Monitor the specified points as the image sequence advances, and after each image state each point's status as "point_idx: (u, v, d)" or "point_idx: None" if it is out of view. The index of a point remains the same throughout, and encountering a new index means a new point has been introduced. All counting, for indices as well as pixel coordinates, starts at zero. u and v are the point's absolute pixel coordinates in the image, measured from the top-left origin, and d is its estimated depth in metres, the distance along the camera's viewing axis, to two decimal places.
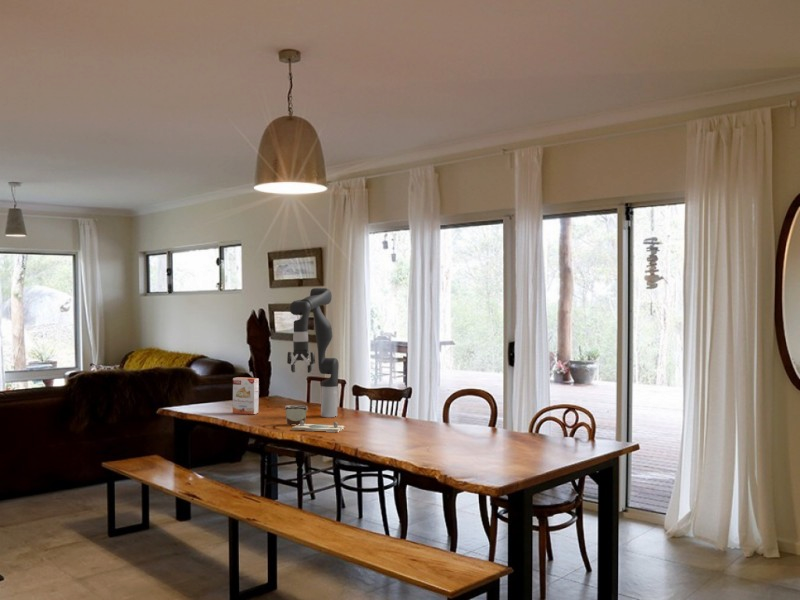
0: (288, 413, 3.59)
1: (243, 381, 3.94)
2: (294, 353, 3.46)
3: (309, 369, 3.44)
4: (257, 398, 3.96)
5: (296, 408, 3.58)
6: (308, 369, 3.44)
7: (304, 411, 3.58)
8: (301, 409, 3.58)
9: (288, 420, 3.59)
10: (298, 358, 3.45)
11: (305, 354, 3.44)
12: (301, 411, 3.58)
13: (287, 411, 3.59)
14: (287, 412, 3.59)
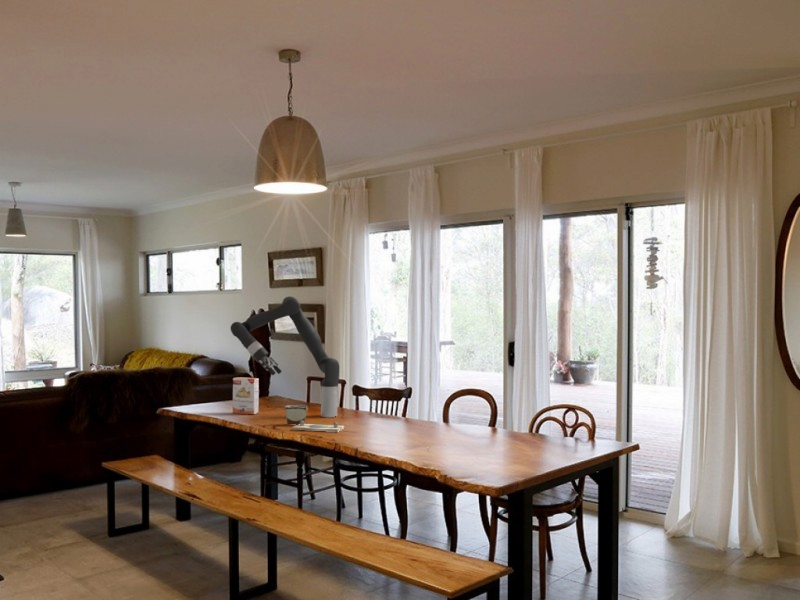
0: (288, 413, 3.59)
1: (243, 381, 3.94)
2: None
3: (271, 372, 3.59)
4: (257, 398, 3.96)
5: (296, 408, 3.58)
6: None
7: (304, 411, 3.58)
8: (301, 409, 3.58)
9: (288, 420, 3.59)
10: None
11: None
12: (301, 411, 3.58)
13: (287, 411, 3.59)
14: (287, 412, 3.59)
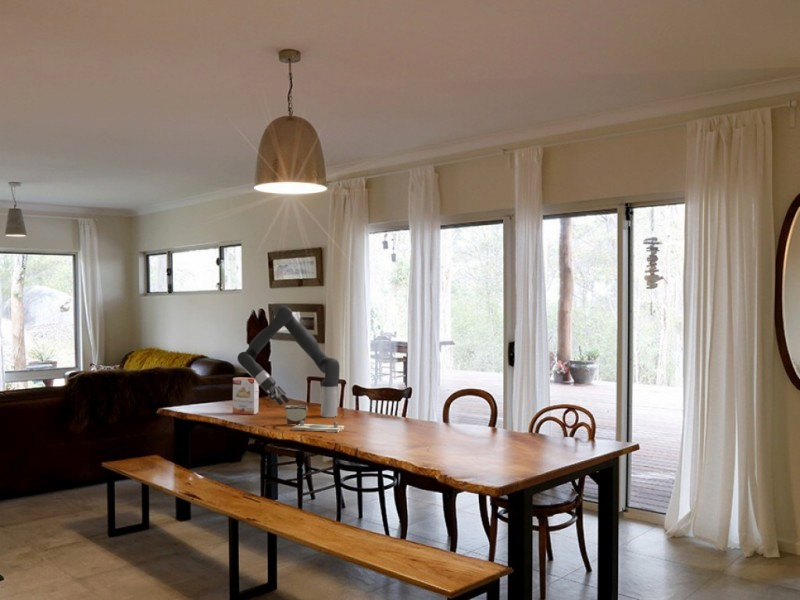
0: (288, 413, 3.59)
1: (243, 381, 3.94)
2: None
3: (278, 402, 3.58)
4: (257, 398, 3.96)
5: (296, 408, 3.58)
6: (278, 403, 3.59)
7: (304, 411, 3.58)
8: (301, 409, 3.58)
9: (288, 420, 3.59)
10: None
11: None
12: (301, 411, 3.58)
13: (287, 411, 3.59)
14: (287, 412, 3.59)
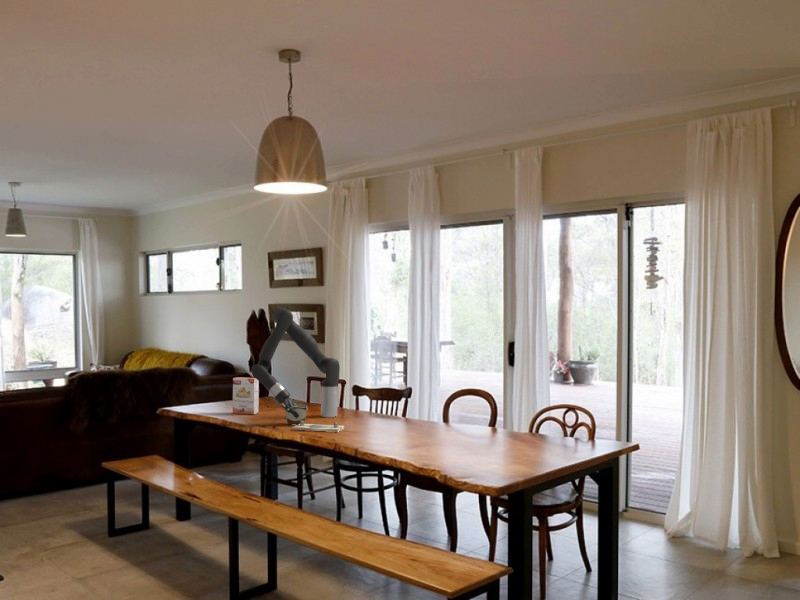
0: (288, 413, 3.59)
1: (243, 381, 3.94)
2: None
3: (294, 416, 3.57)
4: (257, 398, 3.96)
5: (296, 408, 3.58)
6: (294, 416, 3.58)
7: (304, 411, 3.58)
8: (301, 409, 3.58)
9: (288, 420, 3.59)
10: None
11: None
12: (301, 411, 3.58)
13: None
14: (287, 412, 3.59)
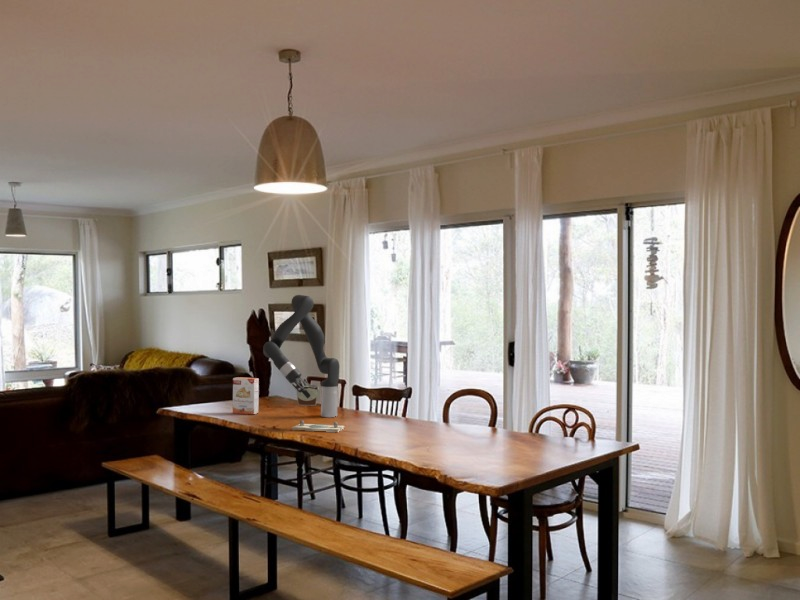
0: (299, 392, 3.50)
1: (243, 381, 3.94)
2: None
3: (305, 395, 3.49)
4: (257, 398, 3.96)
5: (307, 388, 3.50)
6: None
7: (315, 391, 3.49)
8: (312, 389, 3.49)
9: (299, 400, 3.50)
10: None
11: None
12: (312, 391, 3.49)
13: (298, 391, 3.50)
14: (298, 392, 3.50)
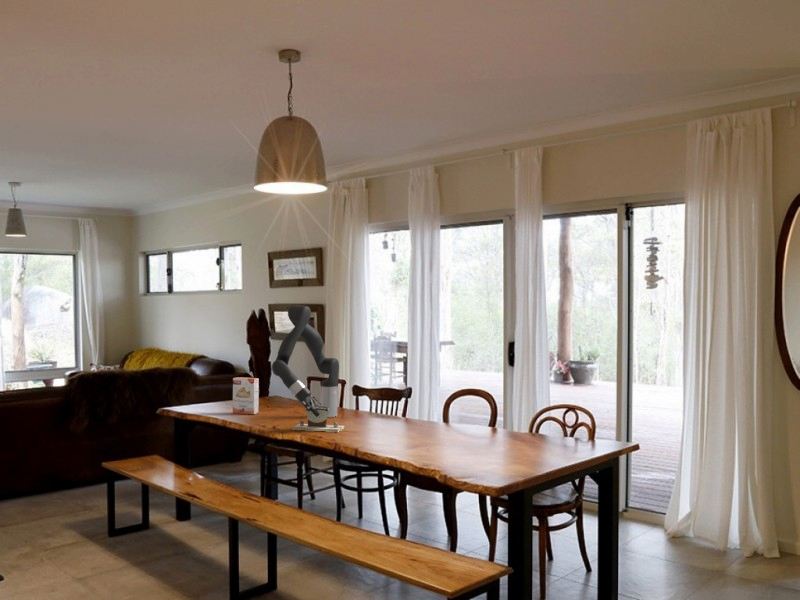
0: (308, 414, 3.44)
1: (243, 381, 3.94)
2: None
3: (315, 414, 3.42)
4: (257, 398, 3.96)
5: (317, 409, 3.44)
6: (314, 414, 3.42)
7: (325, 412, 3.43)
8: (322, 410, 3.43)
9: (309, 422, 3.44)
10: None
11: None
12: (322, 412, 3.43)
13: (308, 412, 3.44)
14: (308, 413, 3.44)
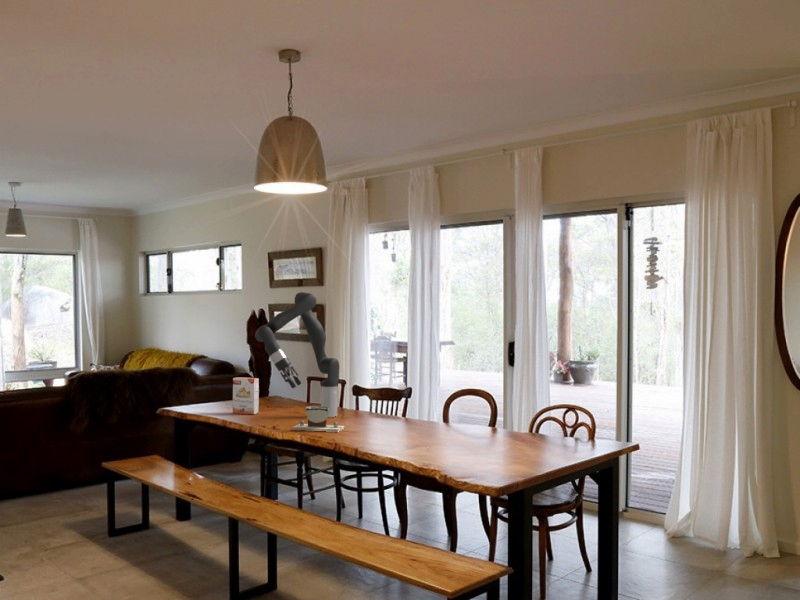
0: (308, 414, 3.44)
1: (243, 381, 3.94)
2: None
3: (291, 385, 3.50)
4: (257, 398, 3.96)
5: (317, 409, 3.44)
6: (291, 386, 3.50)
7: (325, 412, 3.43)
8: (322, 410, 3.43)
9: (309, 422, 3.44)
10: None
11: None
12: (322, 412, 3.43)
13: (308, 412, 3.44)
14: (308, 413, 3.44)
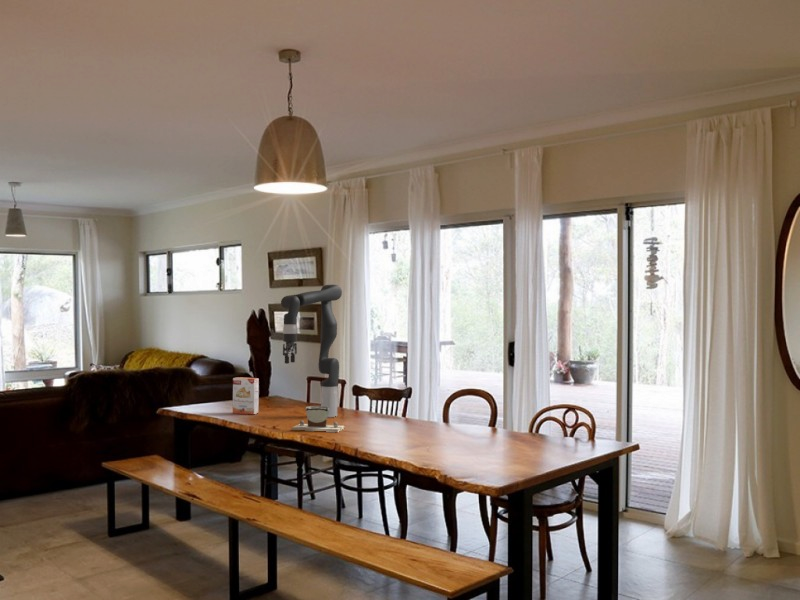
0: (308, 414, 3.44)
1: (243, 381, 3.94)
2: None
3: (285, 360, 3.62)
4: (257, 398, 3.96)
5: (317, 409, 3.44)
6: None
7: (325, 412, 3.43)
8: (322, 410, 3.43)
9: (309, 422, 3.44)
10: None
11: None
12: (322, 412, 3.43)
13: (308, 412, 3.44)
14: (308, 413, 3.44)
